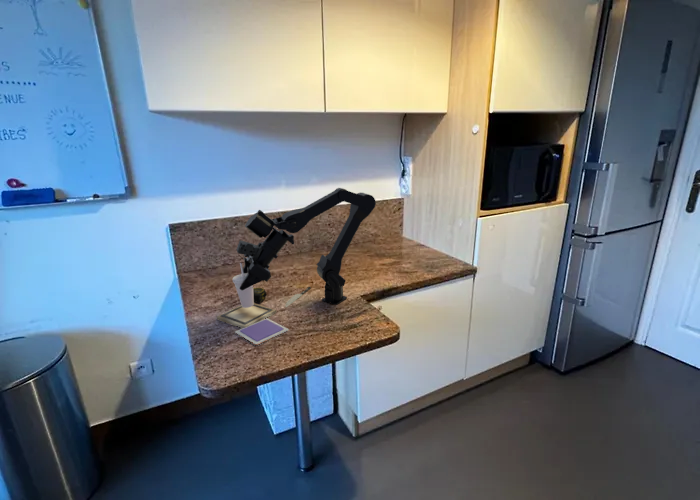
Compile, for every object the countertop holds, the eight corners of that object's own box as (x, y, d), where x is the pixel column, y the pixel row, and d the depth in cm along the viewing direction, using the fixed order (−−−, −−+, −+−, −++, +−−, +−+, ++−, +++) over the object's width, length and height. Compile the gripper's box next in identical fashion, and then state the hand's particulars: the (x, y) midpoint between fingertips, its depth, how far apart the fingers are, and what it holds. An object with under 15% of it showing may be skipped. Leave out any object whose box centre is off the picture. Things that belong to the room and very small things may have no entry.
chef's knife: (276, 309, 122) (284, 310, 121) (276, 306, 122) (283, 307, 121) (304, 288, 139) (311, 288, 138) (304, 285, 139) (311, 286, 137)
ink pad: (267, 319, 114) (266, 317, 113) (288, 331, 106) (288, 328, 106) (235, 333, 106) (234, 330, 106) (256, 346, 99) (255, 343, 98)
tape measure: (242, 303, 127) (241, 293, 125) (253, 295, 133) (252, 286, 132) (260, 305, 125) (259, 295, 124) (270, 297, 131) (269, 287, 130)
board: (249, 304, 125) (248, 300, 125) (276, 312, 118) (276, 309, 118) (217, 319, 115) (216, 315, 115) (245, 329, 108) (244, 325, 108)
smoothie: (258, 299, 119) (252, 259, 115) (257, 308, 113) (250, 265, 109) (238, 302, 118) (231, 261, 114) (236, 311, 112) (228, 268, 108)
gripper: (247, 225, 119) (216, 262, 118) (254, 237, 102) (218, 281, 101) (273, 245, 124) (244, 281, 123) (285, 260, 107) (251, 302, 106)
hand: (239, 285), depth 113 cm, fingers closed on smoothie, 6 cm apart
